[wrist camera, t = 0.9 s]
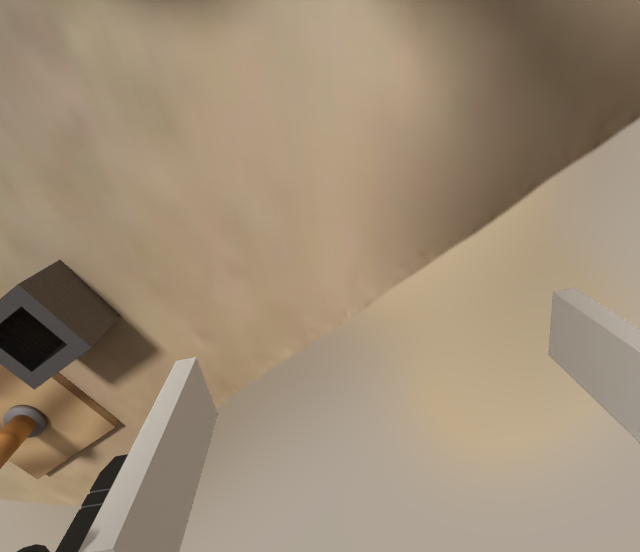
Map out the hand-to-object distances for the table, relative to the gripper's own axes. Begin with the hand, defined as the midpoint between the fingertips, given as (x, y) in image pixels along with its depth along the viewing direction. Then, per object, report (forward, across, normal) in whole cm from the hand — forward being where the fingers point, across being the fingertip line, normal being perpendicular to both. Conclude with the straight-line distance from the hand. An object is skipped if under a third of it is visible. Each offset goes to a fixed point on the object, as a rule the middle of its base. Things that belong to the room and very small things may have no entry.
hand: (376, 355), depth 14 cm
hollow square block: (+25, -30, -5) cm, 39 cm away
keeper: (+25, -39, -18) cm, 50 cm away
